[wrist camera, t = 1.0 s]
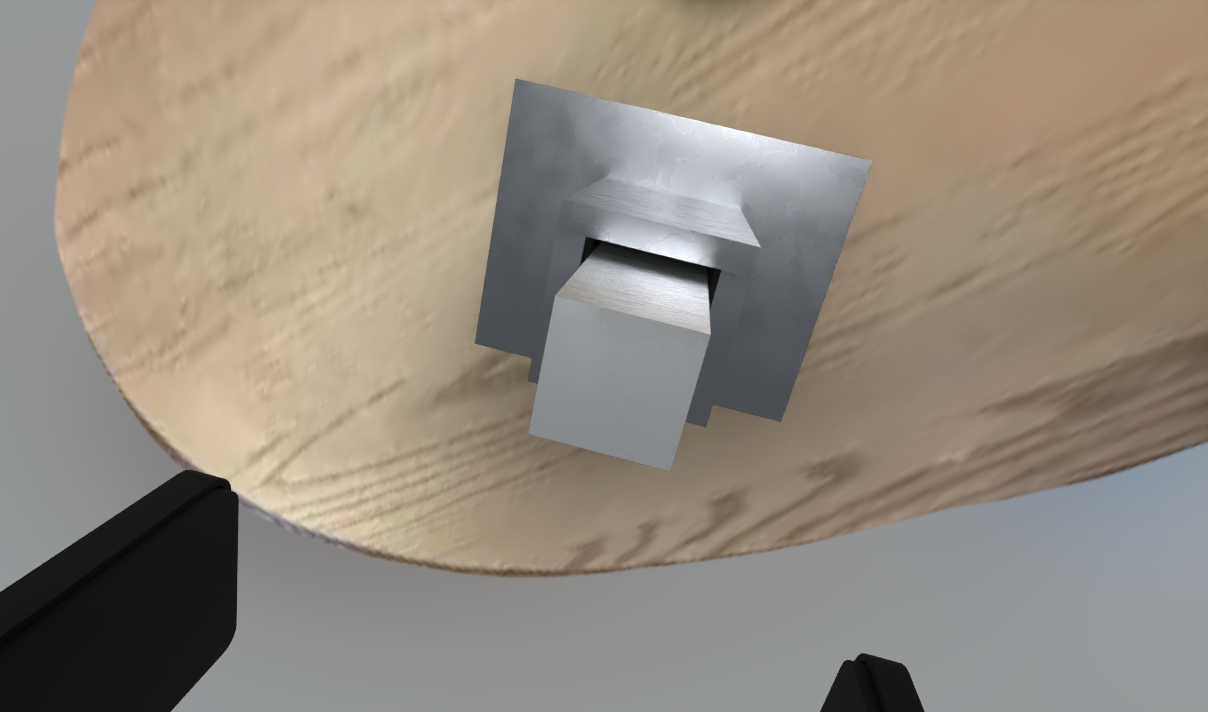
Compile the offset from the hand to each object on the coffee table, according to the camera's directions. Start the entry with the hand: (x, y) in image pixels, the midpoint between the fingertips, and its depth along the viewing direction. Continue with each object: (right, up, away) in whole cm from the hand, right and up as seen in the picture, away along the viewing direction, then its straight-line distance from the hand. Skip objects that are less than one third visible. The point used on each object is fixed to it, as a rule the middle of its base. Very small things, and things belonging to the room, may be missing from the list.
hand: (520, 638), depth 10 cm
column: (+4, +10, +28) cm, 30 cm away
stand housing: (+5, +10, +30) cm, 32 cm away
